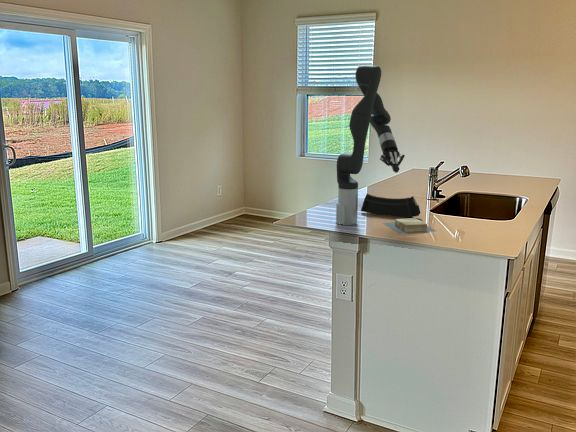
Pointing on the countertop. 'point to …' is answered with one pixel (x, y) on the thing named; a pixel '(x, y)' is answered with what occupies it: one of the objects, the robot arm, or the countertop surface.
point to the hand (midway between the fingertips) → (396, 171)
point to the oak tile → (411, 224)
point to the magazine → (391, 206)
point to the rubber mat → (400, 231)
